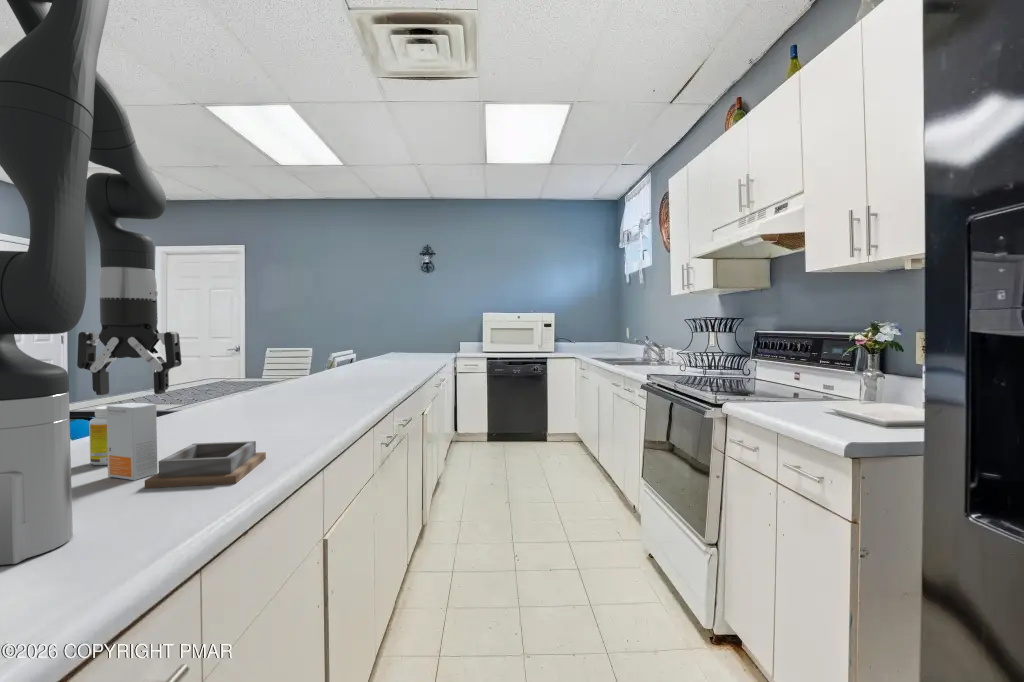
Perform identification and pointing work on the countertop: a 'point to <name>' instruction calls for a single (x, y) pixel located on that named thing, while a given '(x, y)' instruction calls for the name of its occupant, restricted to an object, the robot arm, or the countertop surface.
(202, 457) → the holder
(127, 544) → the countertop surface
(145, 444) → the skincare box
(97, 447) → the supplement bottle
